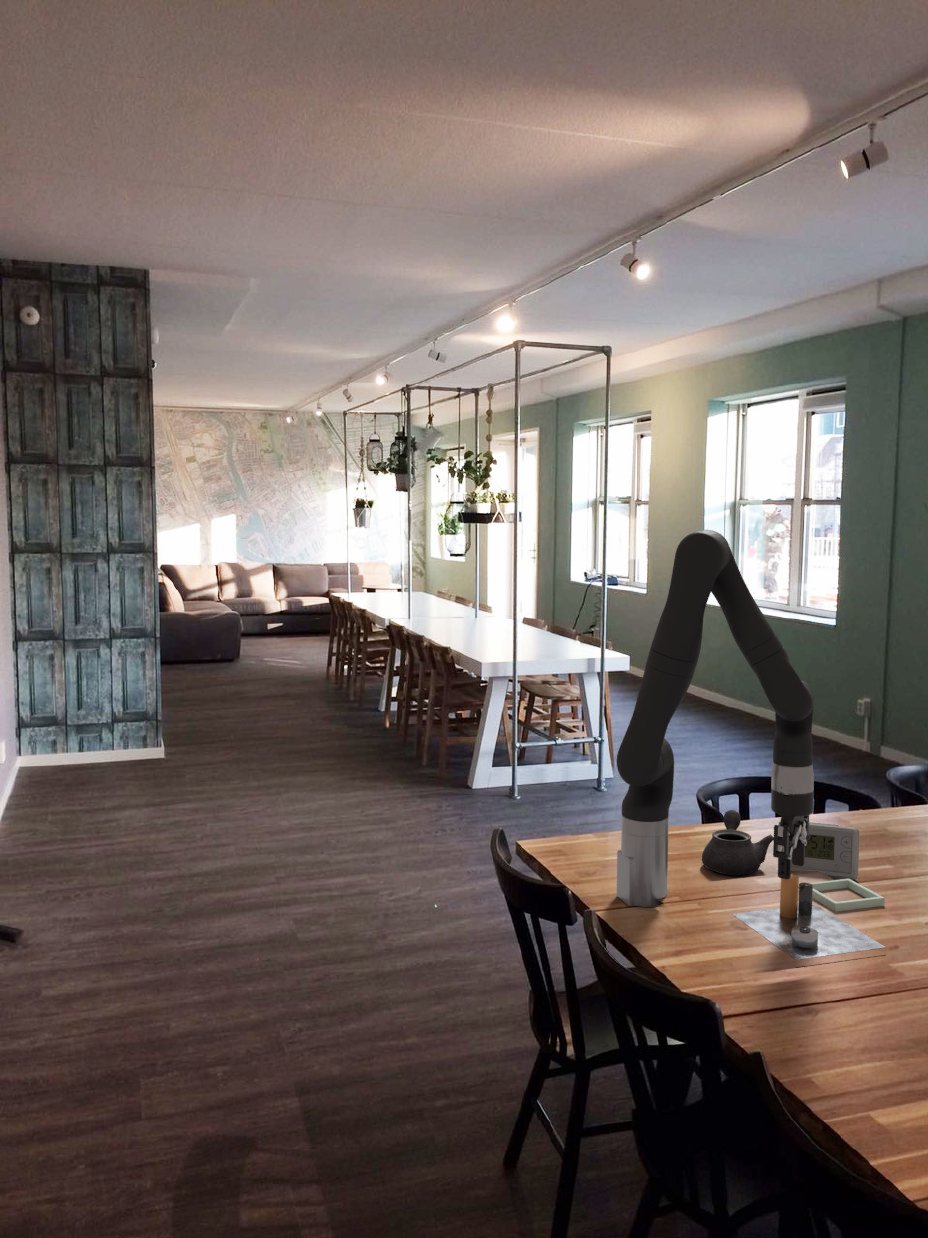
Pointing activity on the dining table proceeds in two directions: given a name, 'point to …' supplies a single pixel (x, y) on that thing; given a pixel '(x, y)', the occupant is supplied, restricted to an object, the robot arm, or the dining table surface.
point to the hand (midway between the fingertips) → (791, 871)
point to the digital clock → (831, 851)
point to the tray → (869, 900)
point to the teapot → (734, 849)
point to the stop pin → (789, 897)
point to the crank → (805, 919)
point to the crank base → (830, 928)
